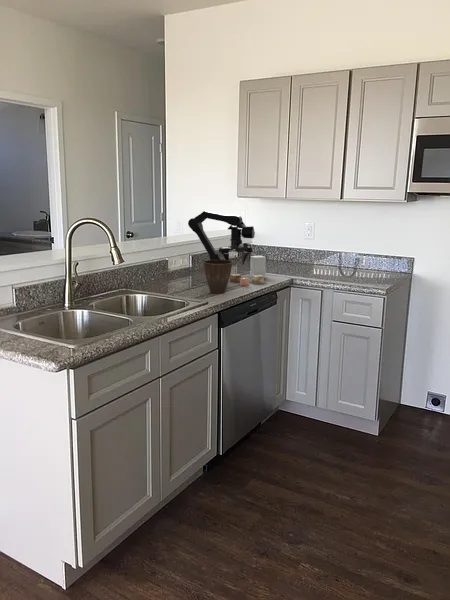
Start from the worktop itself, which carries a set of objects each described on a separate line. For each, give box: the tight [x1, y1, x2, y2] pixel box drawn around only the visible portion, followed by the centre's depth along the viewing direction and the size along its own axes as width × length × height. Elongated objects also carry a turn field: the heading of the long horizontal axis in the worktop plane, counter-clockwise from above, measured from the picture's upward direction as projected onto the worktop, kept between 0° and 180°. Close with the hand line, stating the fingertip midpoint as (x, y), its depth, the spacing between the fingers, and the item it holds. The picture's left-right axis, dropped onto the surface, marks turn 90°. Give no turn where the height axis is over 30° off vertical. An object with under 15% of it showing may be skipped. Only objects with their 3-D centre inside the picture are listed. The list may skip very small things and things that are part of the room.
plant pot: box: [203, 259, 233, 294], centre depth 264 cm, size 15×15×16 cm
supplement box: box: [249, 255, 267, 279], centre depth 307 cm, size 7×7×13 cm
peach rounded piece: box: [239, 277, 250, 287], centre depth 282 cm, size 5×5×4 cm
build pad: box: [249, 280, 269, 286], centre depth 290 cm, size 9×9×1 cm
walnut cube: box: [229, 273, 242, 283], centre depth 294 cm, size 5×5×4 cm
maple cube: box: [251, 275, 265, 285], centre depth 289 cm, size 5×5×4 cm
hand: (235, 264), depth 292 cm, fingers open, 9 cm apart
